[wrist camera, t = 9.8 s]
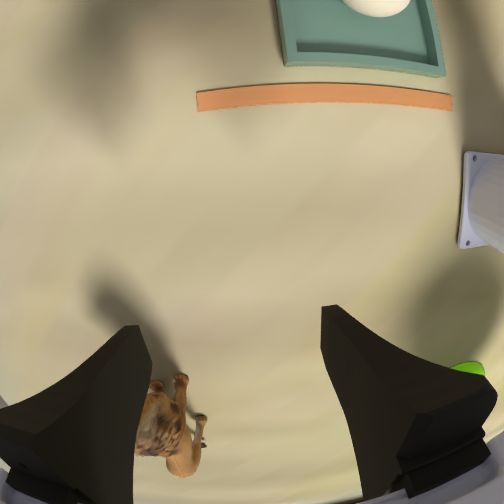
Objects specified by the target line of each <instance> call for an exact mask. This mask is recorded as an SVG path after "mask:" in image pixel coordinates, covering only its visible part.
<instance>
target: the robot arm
mask: <svg viewBox="0 0 504 504" xmlns="http://www.w3.org/2000/svg"><path fill="white" fill-rule="evenodd" d="M473 156H474V160H473ZM466 242H467V243H466ZM457 245H458V247H459V248H460V249H467V248H473V247H479V246H485V245H491V246H492V247H494V248H496V249H497V250H499V251H500V252H502V253H504V155H501V154H492V153H483V152H472V151H467V152H465V154H464V173H463V194H462V207H461V217H460V227H459V235H458V242H457ZM320 348H321V351H322V355H323V359H324V363H325V367H326V370H327V372H328V375H329V377H330V379H331V382H332V384H333V387H334V389H335V392H336V394H337V396H338V399H339V401H340V404H341V406H342V409H343V411H344V414H345V417H346V420H347V423H348V427H349V431H350V435H351V439H352V443H353V447H354V451H355V456H356V460H357V465H358V470H359V475H360V481H361V487H362V493H363V500H364V502H361V503H357V504H504V431H503V432H502V433H500V434H499V435H497V436H495V437H494V438H493V439H491V440H490V441H489V442H488V443H487V444H485V442H484V440H483V439H482V438H483V437H484V436H485V431H484V430H483V428H482V425H483V424H484V422H485V421H486V419H487V418H488V416H489V415H490V413H491V412H492V410H493V408H494V406H495V404H496V401H497V397H498V395H497V392H496V390H495V389H494V388H493V386H492V385H491V384H490V383H489V381H488V380H487V379H486V377H485V376H484V375H481V374H475V373H469V372H464V371H459V370H455V369H451V368H448V367H444V366H441V365H438V364H435V363H432V362H429V361H427V360H424V359H422V358H419V357H417V356H414V355H412V354H410V353H408V352H406V351H404V350H402V349H400V348H398V347H396V346H395V345H393V344H391V343H389V342H388V341H386V340H385V339H383V338H381V337H380V336H378V335H377V334H375V333H374V332H372V331H371V330H370V329H368V328H367V327H365V326H364V325H363V324H361V323H360V322H359V321H357V320H356V319H355V318H353V317H352V316H351V315H350V314H348V313H347V312H346V311H345V310H343V309H342V308H341V307H339V306H338V305H330V306H324V307H322V314H321V346H320ZM151 371H152V361H151V358H150V356H149V353H148V350H147V348H146V345H145V342H144V340H143V337H142V334H141V331H140V328H139V325H132V326H124V327H123V328H122V329H120V330H119V331H118V332H117V333H116V334H115V335H114V336H112V337H111V338H110V339H109V340H108V341H107V342H106V343H105V344H104V345H103V346H102V347H100V348H99V349H98V350H97V351H96V352H95V353H94V354H93V355H92V356H91V357H89V358H88V359H87V360H86V361H85V362H83V363H82V364H81V365H80V366H79V367H78V368H76V369H75V370H74V371H73V372H71V373H70V374H68V375H67V376H66V377H64V378H63V379H61V380H60V381H58V382H57V383H55V384H54V385H52V386H50V387H49V388H47V389H45V390H43V391H42V392H40V393H38V394H36V395H34V396H32V397H30V398H28V399H26V400H23V401H21V402H19V403H16V404H13V405H10V406H7V407H4V408H1V409H0V458H1V459H2V460H3V461H5V462H6V463H7V464H8V465H9V466H10V467H11V469H10V471H9V473H8V472H7V471H5V470H4V469H2V468H0V504H133V465H134V452H135V443H136V435H137V430H138V426H139V422H140V418H141V414H142V411H143V407H144V403H145V400H146V396H147V392H148V389H149V385H150V378H151Z"/></svg>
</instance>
